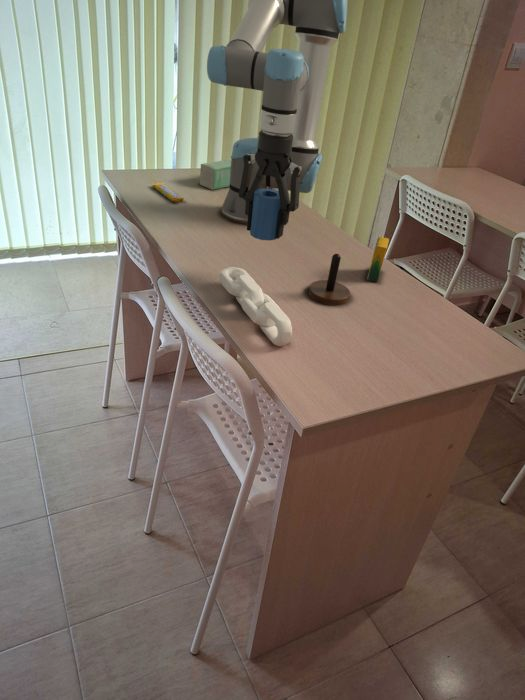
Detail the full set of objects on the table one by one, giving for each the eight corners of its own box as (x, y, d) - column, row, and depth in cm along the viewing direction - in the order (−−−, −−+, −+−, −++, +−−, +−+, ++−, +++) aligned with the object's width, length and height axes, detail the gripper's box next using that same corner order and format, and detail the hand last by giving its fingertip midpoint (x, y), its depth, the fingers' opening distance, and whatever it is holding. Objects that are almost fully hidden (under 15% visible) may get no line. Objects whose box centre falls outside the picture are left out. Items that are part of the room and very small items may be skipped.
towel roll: (249, 227, 131) (253, 187, 125) (276, 229, 132) (281, 189, 126) (251, 239, 125) (255, 197, 120) (280, 241, 126) (285, 199, 121)
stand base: (305, 284, 136) (306, 279, 135) (343, 286, 138) (345, 281, 137) (312, 304, 128) (313, 298, 127) (353, 306, 130) (354, 300, 129)
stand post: (325, 287, 133) (332, 251, 127) (333, 287, 133) (340, 252, 128) (326, 291, 131) (334, 255, 126) (334, 291, 131) (342, 256, 126)
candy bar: (184, 202, 174) (185, 197, 173) (173, 204, 172) (173, 198, 171) (162, 186, 185) (162, 180, 184) (151, 187, 183) (151, 181, 182)
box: (240, 184, 196) (242, 163, 192) (213, 190, 187) (214, 169, 183) (226, 179, 200) (227, 158, 196) (199, 184, 191) (199, 163, 187)
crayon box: (377, 282, 142) (388, 241, 135) (366, 280, 142) (376, 239, 136) (380, 271, 148) (391, 231, 141) (370, 269, 148) (379, 229, 142)
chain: (297, 347, 112) (301, 321, 109) (271, 352, 109) (274, 326, 106) (238, 281, 133) (241, 258, 130) (215, 284, 131) (217, 261, 127)
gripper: (227, 125, 115) (220, 226, 128) (313, 145, 110) (297, 248, 123) (242, 120, 121) (234, 217, 134) (325, 138, 115) (308, 238, 129)
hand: (264, 232), depth 128 cm, fingers closed on towel roll, 7 cm apart
